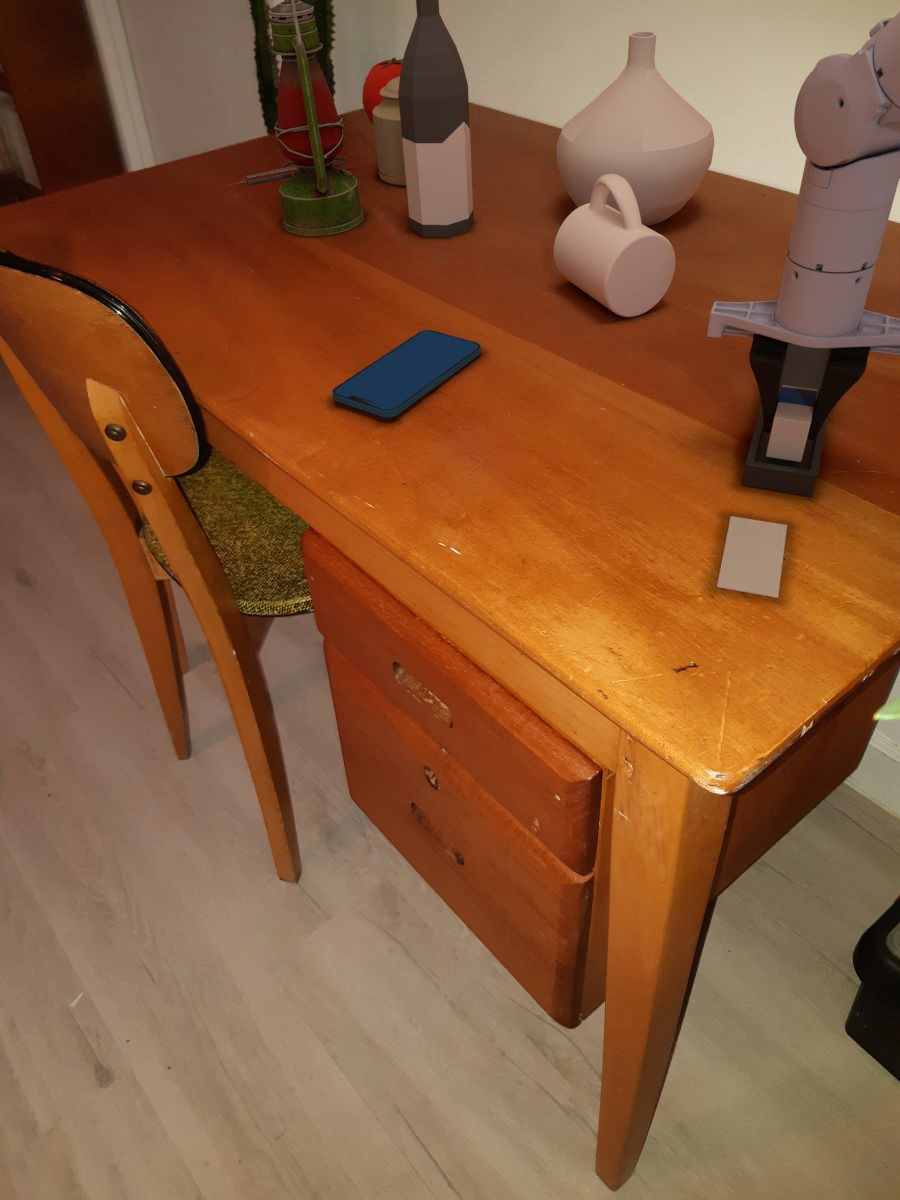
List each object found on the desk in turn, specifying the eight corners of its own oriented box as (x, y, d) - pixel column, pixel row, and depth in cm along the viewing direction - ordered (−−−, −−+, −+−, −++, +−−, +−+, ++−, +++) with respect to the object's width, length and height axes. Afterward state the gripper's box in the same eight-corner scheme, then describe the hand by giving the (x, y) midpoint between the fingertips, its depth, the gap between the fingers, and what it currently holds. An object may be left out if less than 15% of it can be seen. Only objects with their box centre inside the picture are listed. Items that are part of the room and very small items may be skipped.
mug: (602, 326, 88) (610, 203, 80) (551, 289, 95) (553, 172, 87) (671, 306, 91) (686, 184, 82) (616, 271, 98) (624, 155, 89)
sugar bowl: (356, 164, 130) (341, 46, 120) (423, 149, 133) (414, 33, 123) (398, 192, 120) (386, 67, 110) (469, 175, 123) (464, 52, 113)
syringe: (222, 183, 127) (219, 171, 126) (339, 159, 132) (337, 147, 131) (235, 199, 122) (233, 186, 121) (357, 173, 127) (355, 161, 126)
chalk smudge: (777, 598, 59) (778, 597, 59) (716, 587, 60) (716, 586, 60) (786, 526, 64) (787, 524, 64) (730, 517, 65) (730, 516, 65)
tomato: (452, 123, 142) (448, 49, 135) (400, 146, 135) (393, 69, 128) (400, 114, 147) (394, 43, 140) (347, 135, 140) (338, 61, 133)
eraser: (801, 462, 67) (811, 422, 65) (765, 457, 68) (773, 417, 66) (807, 428, 71) (817, 388, 68) (773, 423, 71) (782, 384, 69)
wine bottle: (434, 210, 115) (413, -80, 94) (486, 219, 111) (477, -79, 90) (397, 231, 110) (367, -68, 89) (450, 243, 106) (432, -66, 86)
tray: (811, 497, 67) (817, 475, 65) (741, 485, 68) (745, 464, 67) (845, 297, 90) (850, 278, 88) (792, 292, 91) (796, 273, 90)
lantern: (373, 232, 110) (338, -66, 90) (289, 246, 109) (233, -54, 88) (354, 196, 120) (319, -80, 99) (277, 207, 119) (225, -70, 98)
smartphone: (485, 344, 85) (390, 413, 77) (485, 353, 86) (391, 423, 77) (424, 327, 89) (326, 392, 80) (425, 336, 89) (328, 401, 81)
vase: (667, 253, 100) (688, 61, 87) (528, 227, 108) (528, 48, 95) (727, 199, 111) (754, 21, 98) (596, 179, 119) (605, 12, 106)
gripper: (950, 242, 60) (893, 416, 69) (730, 225, 64) (704, 390, 73) (950, 286, 55) (889, 466, 64) (713, 264, 59) (688, 435, 69)
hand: (790, 429), depth 69 cm, fingers closed on eraser, 3 cm apart
